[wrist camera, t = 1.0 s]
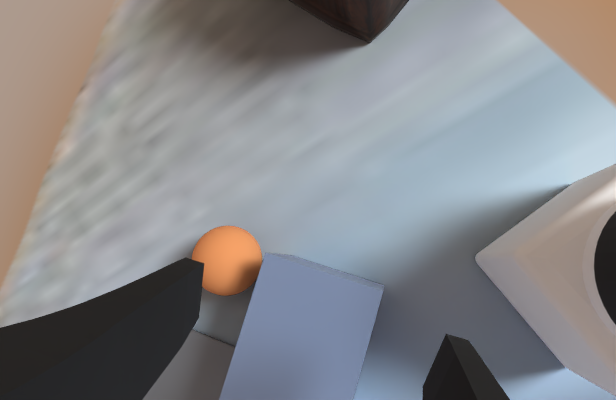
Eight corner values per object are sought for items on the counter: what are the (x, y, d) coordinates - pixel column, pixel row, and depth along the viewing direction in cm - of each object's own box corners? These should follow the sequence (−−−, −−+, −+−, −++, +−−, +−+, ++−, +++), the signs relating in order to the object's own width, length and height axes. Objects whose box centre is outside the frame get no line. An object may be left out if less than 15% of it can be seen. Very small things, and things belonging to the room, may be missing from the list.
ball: (259, 301, 23) (233, 309, 19) (202, 281, 24) (167, 284, 20) (278, 239, 24) (257, 234, 20) (222, 221, 25) (191, 213, 21)
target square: (229, 479, 22) (228, 481, 22) (130, 430, 24) (127, 431, 23) (266, 359, 23) (265, 360, 22) (167, 319, 24) (165, 319, 24)
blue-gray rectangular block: (342, 435, 21) (327, 489, 16) (248, 395, 22) (208, 433, 17) (384, 285, 22) (383, 291, 17) (291, 255, 23) (265, 252, 18)
